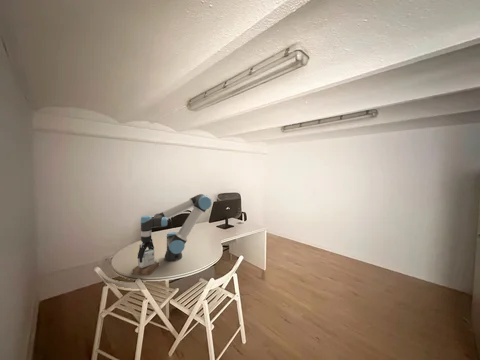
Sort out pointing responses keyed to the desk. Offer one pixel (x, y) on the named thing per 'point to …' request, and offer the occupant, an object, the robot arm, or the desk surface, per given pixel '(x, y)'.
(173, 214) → the robot arm
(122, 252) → the desk surface
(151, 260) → the light bulb box
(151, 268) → the block
